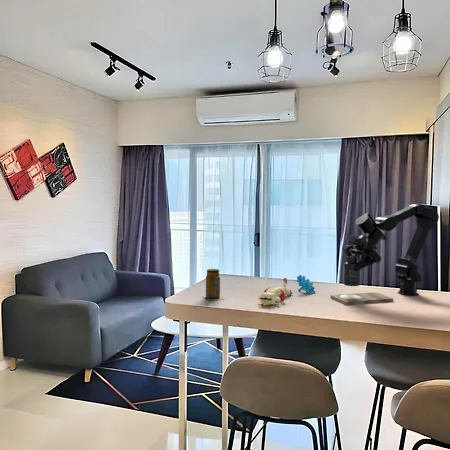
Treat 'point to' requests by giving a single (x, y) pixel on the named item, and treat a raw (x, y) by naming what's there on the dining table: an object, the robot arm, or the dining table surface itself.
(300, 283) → the blue lumpy piece
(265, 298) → the cat figure
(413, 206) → the robot arm
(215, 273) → the condiment
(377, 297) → the walnut board
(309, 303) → the dining table surface
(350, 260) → the supplement bottle
